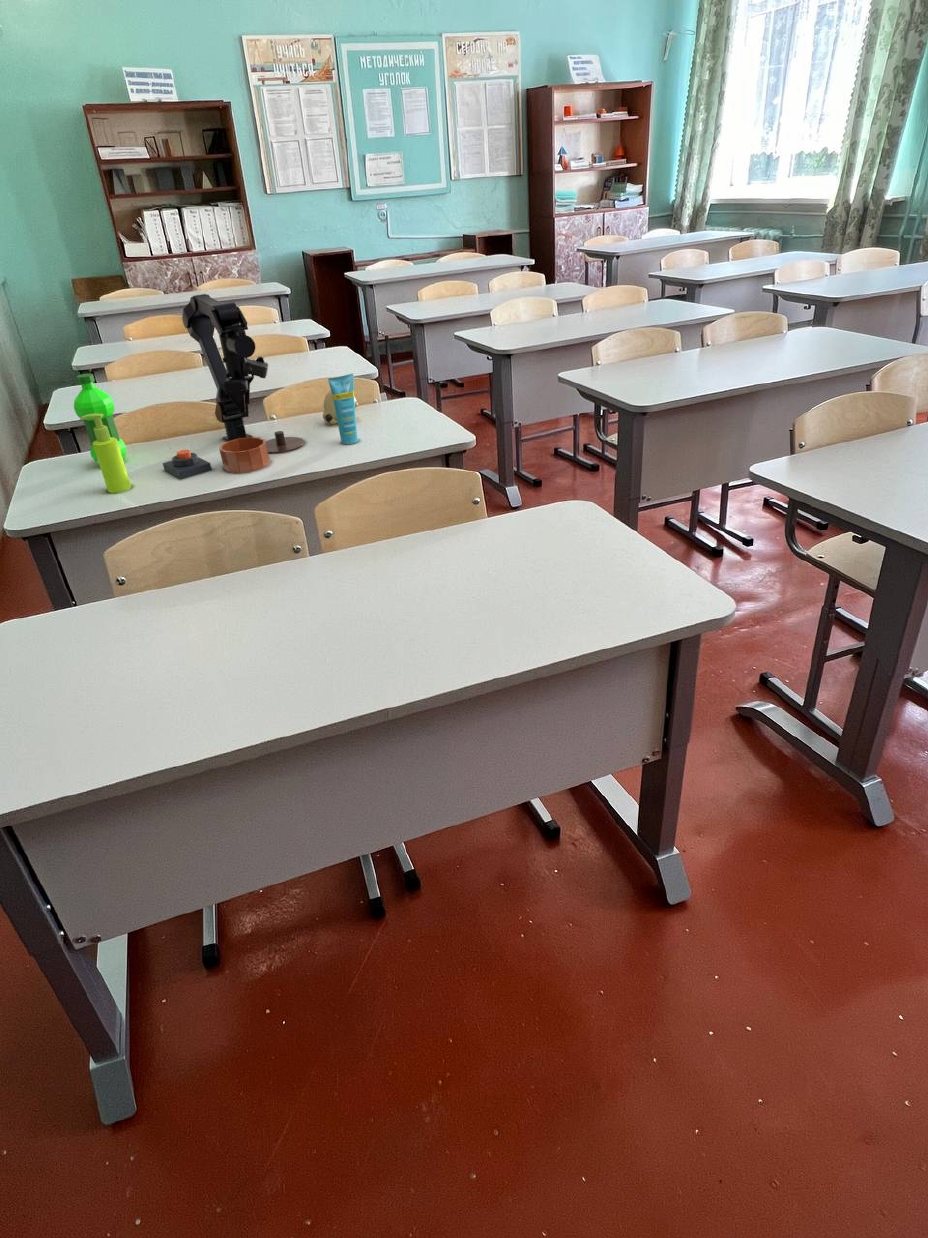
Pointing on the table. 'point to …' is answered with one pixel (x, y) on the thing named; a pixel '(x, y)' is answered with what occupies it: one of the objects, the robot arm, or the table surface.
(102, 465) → the soap dispenser
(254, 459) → the round brown pot
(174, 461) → the box
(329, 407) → the toy pig
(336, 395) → the tube
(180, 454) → the button
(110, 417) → the plastic bottle
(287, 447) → the lid
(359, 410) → the table surface
